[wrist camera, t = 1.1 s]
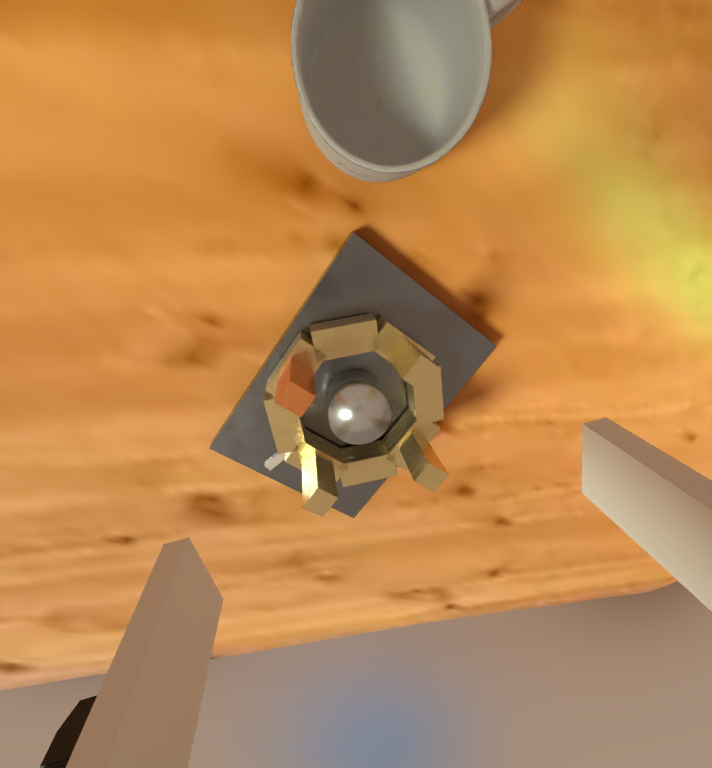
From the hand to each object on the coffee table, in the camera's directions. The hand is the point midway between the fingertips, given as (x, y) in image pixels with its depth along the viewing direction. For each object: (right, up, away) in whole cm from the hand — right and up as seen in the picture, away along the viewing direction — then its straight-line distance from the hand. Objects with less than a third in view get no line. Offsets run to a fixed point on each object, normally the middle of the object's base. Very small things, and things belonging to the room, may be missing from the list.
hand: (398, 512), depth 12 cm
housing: (-2, +3, +23) cm, 23 cm away
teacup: (+1, +25, +15) cm, 29 cm away
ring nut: (-1, +3, +21) cm, 21 cm away
